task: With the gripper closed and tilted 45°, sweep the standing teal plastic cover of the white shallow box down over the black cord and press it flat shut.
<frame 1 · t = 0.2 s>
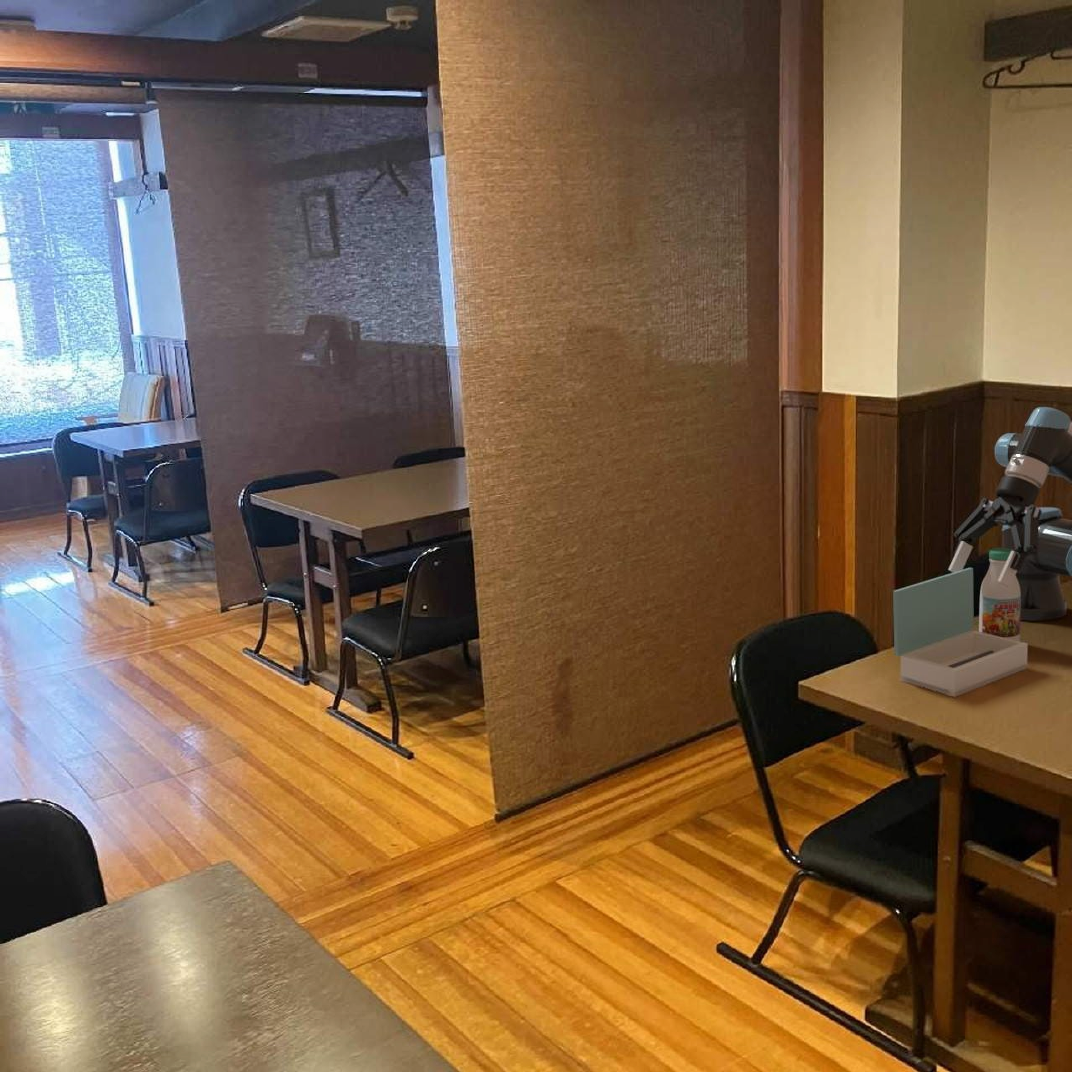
hand: (977, 578, 228), 15 cm above the table, tool tilted 35°, fingers open, 13 cm apart
milk bottle: (998, 645, 235), on the table
white shallow box: (963, 674, 220), on the table
duct cover: (934, 610, 223), point 11 cm above the table, hinge at 92.0°
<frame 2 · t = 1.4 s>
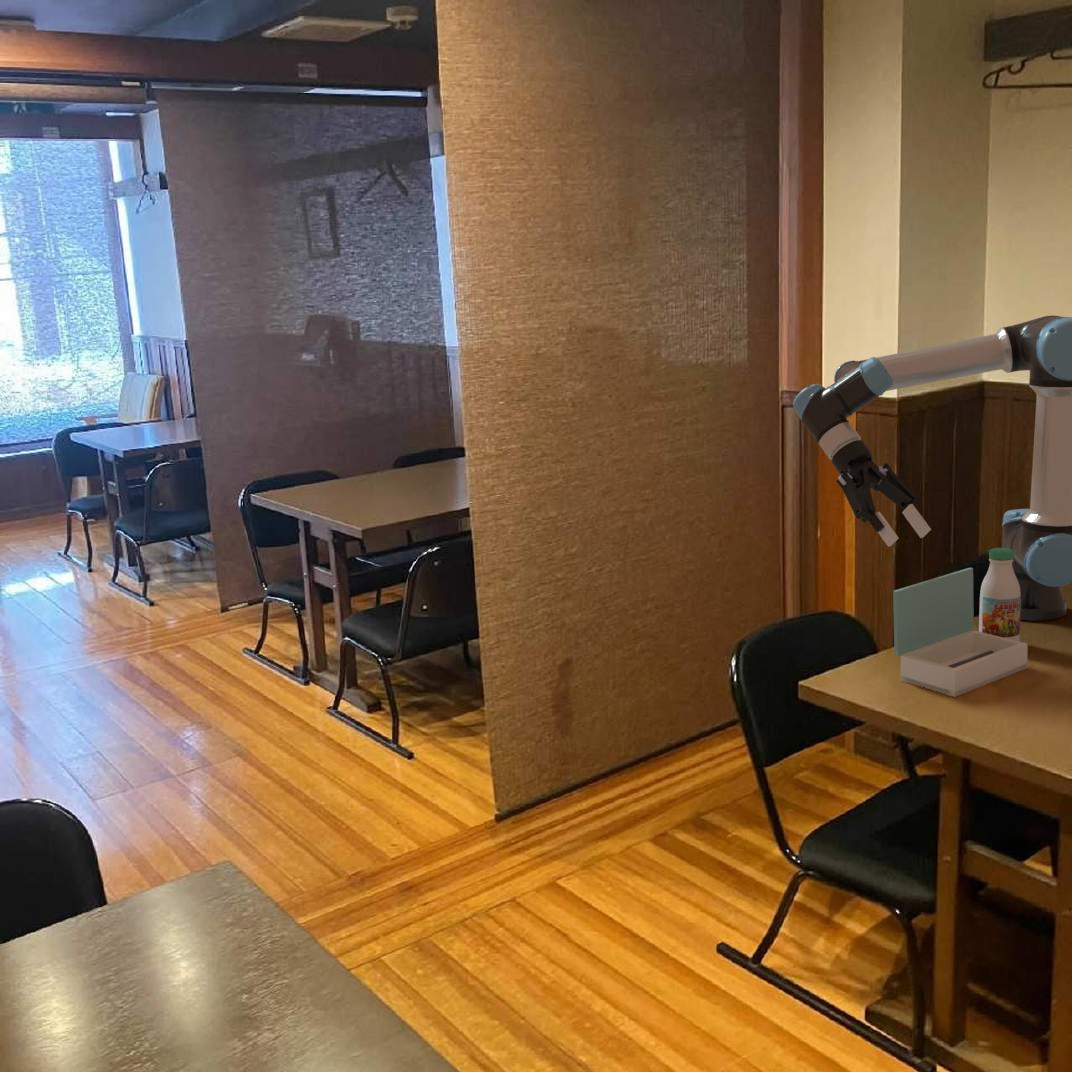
hand: (909, 538, 225), 25 cm above the table, tool tilted 45°, fingers open, 9 cm apart
nothing on the table moved.
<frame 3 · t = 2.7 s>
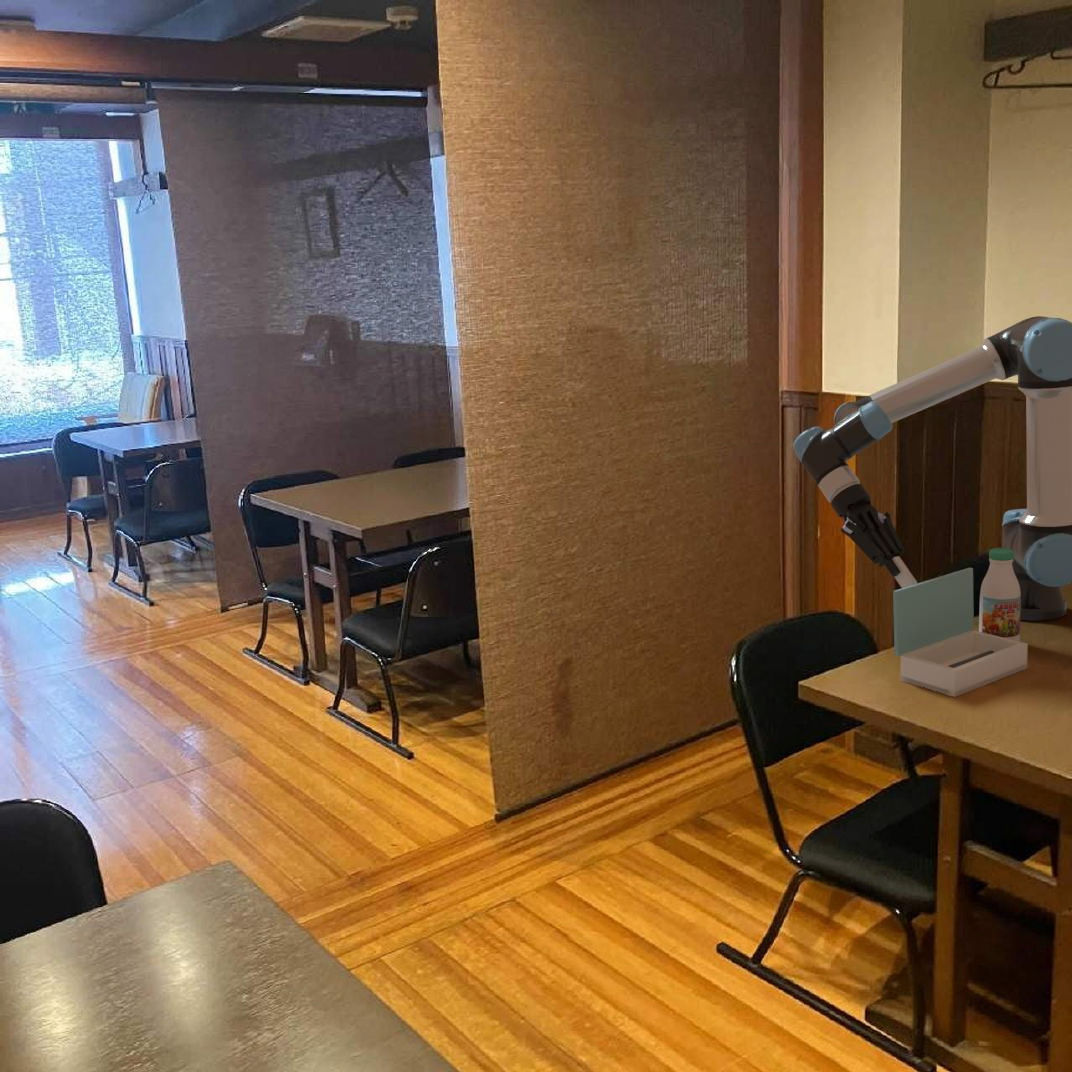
hand: (910, 587, 226), 15 cm above the table, tool tilted 45°, fingers closed
nothing on the table moved.
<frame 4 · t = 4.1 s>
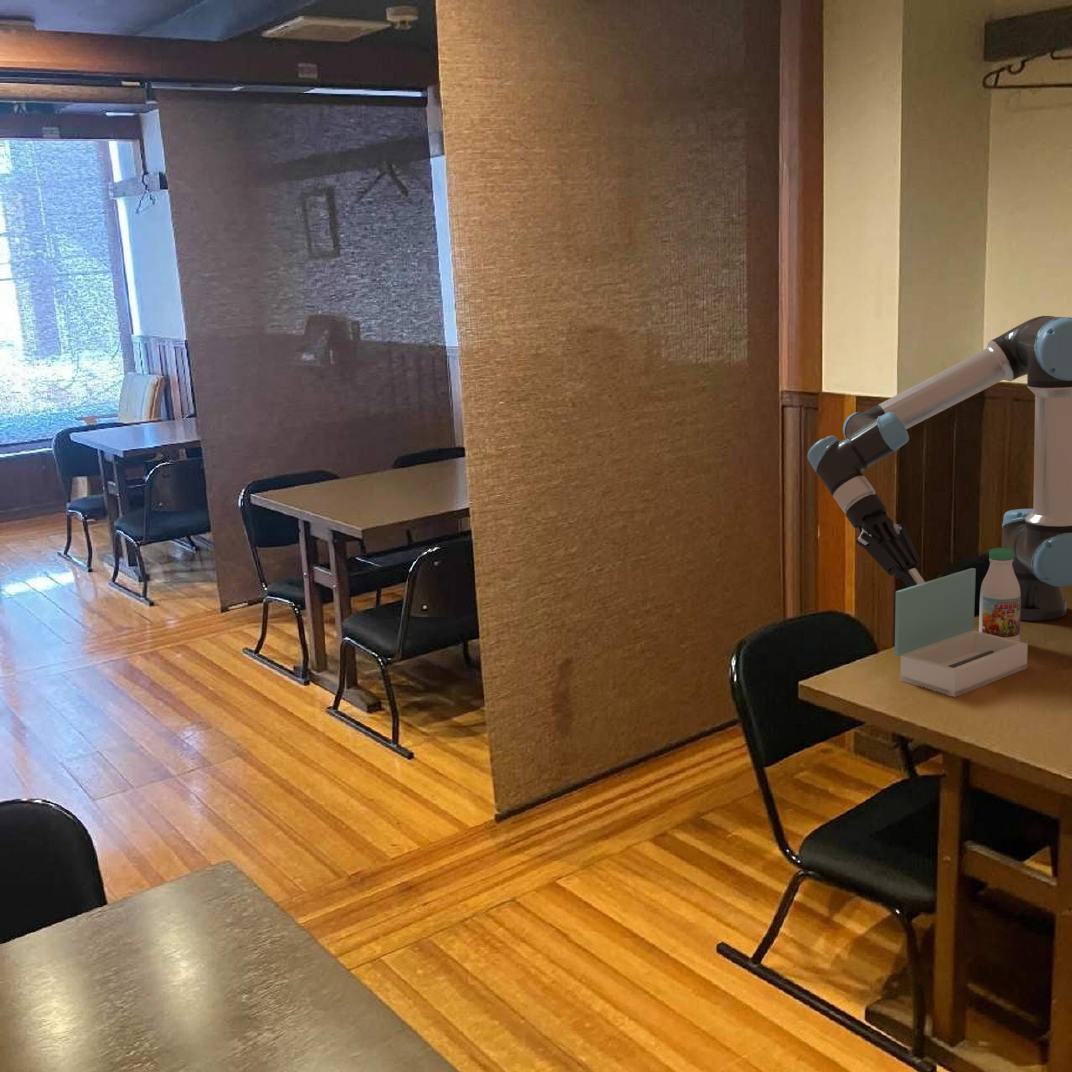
hand: (927, 599, 223), 13 cm above the table, tool tilted 45°, fingers closed
duct cover: (935, 610, 222), point 11 cm above the table, hinge at 89.2°, touching gripper
everything else where it was.
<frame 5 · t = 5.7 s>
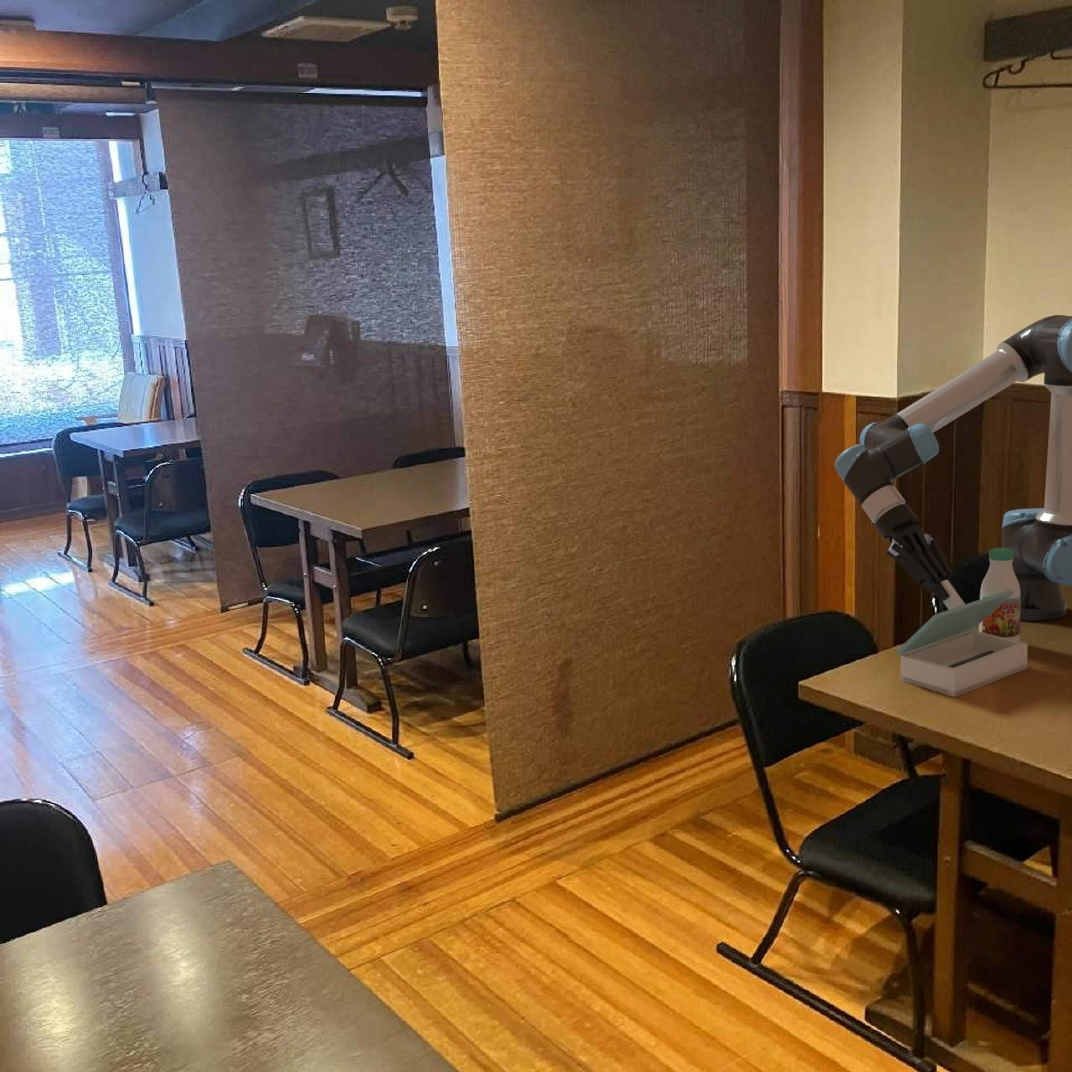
hand: (960, 611, 218), 12 cm above the table, tool tilted 45°, fingers closed
duct cover: (955, 622, 219), point 10 cm above the table, hinge at 47.0°, touching gripper
everything else where it was.
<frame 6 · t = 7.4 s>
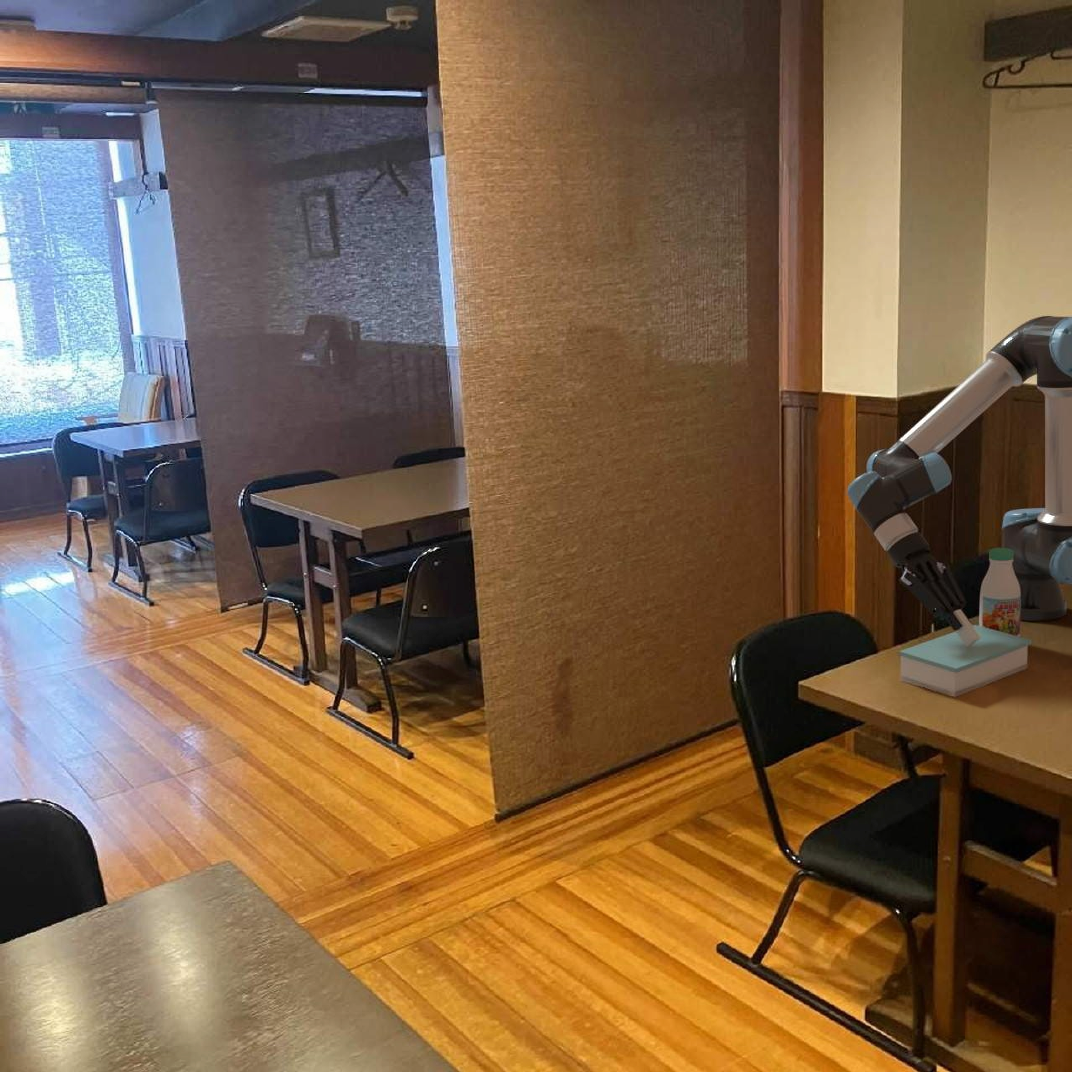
hand: (973, 642, 216), 7 cm above the table, tool tilted 45°, fingers closed
duct cover: (965, 647, 218), point 5 cm above the table, hinge at -1.0°, touching white shallow box, gripper
everything else where it was.
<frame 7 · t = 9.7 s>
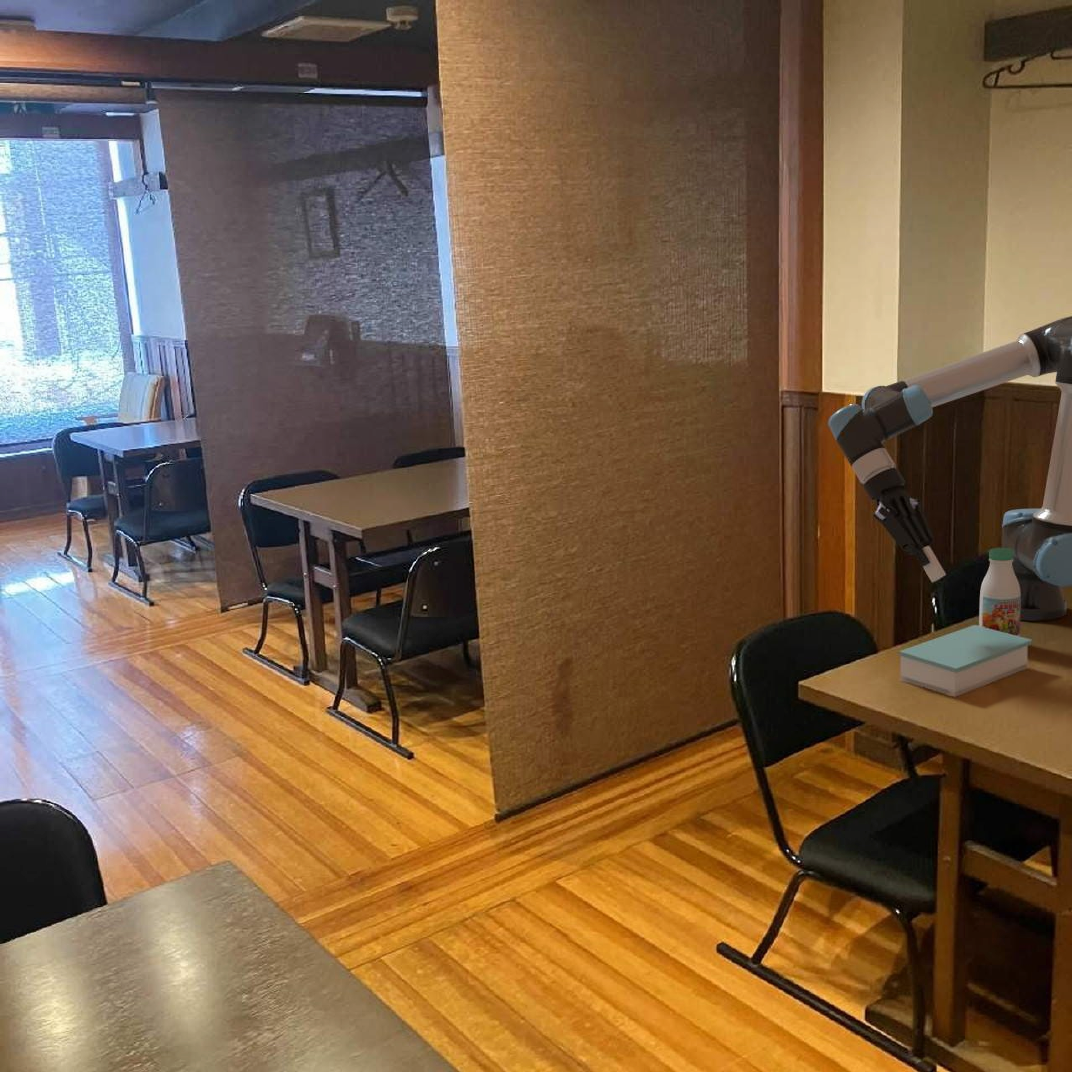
hand: (938, 578, 224), 17 cm above the table, tool tilted 35°, fingers closed
duct cover: (965, 647, 218), point 5 cm above the table, hinge at -1.0°, touching white shallow box
everything else where it was.
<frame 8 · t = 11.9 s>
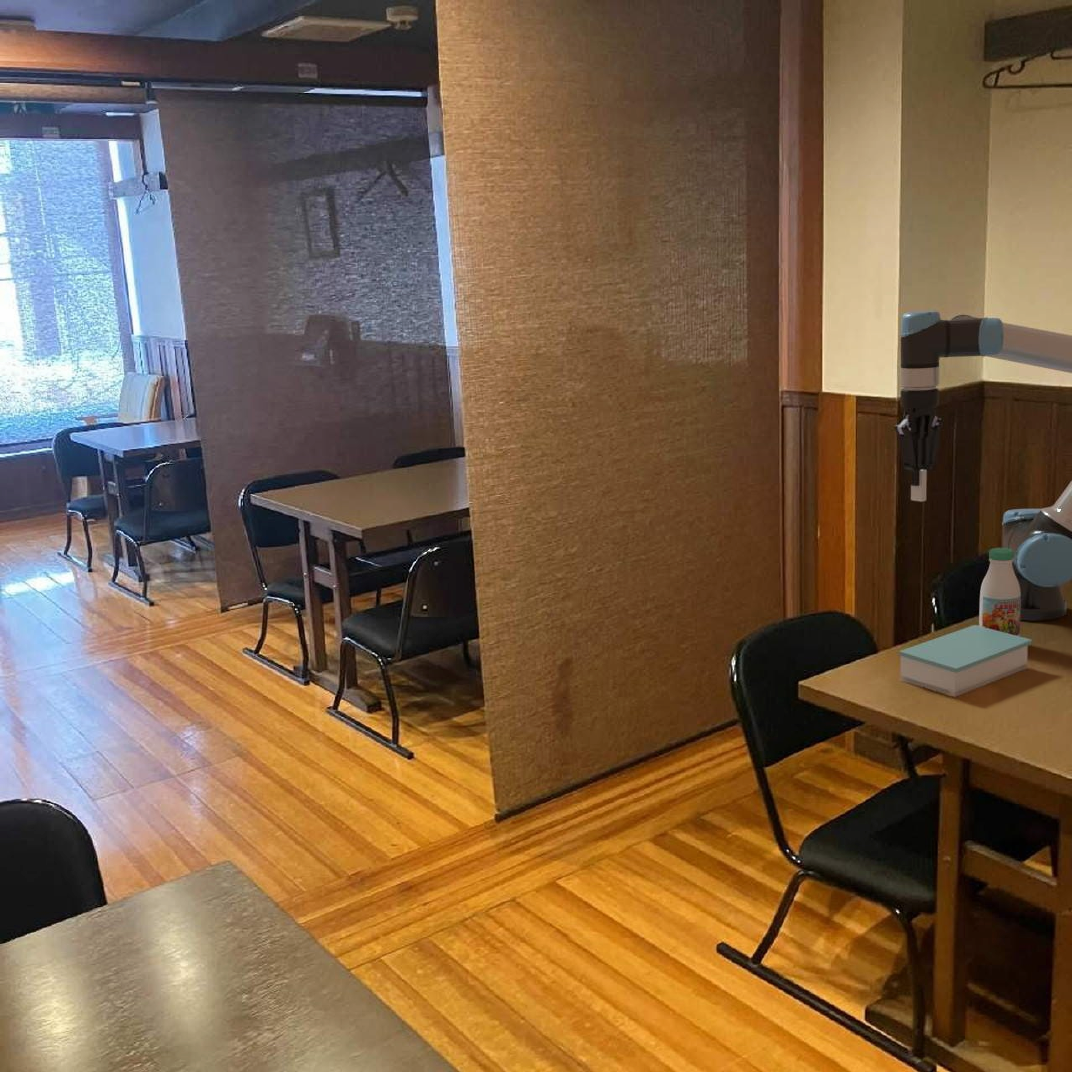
hand: (918, 500, 241), 28 cm above the table, tool pointing down, fingers closed
nothing on the table moved.
at the end: duct cover at -1° (first picture: +92°); milk bottle moved 0.2 cm from its start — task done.
